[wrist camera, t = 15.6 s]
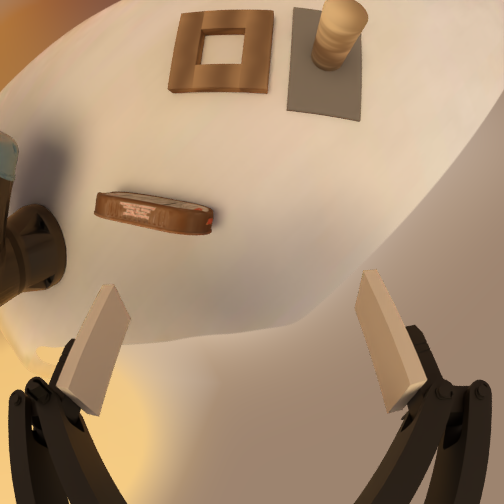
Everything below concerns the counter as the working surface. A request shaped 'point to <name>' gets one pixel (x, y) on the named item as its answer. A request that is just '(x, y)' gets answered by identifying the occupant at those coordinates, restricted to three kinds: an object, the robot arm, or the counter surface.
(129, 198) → the tin
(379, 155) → the counter surface
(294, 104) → the mat
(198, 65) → the slot block
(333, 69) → the peg
